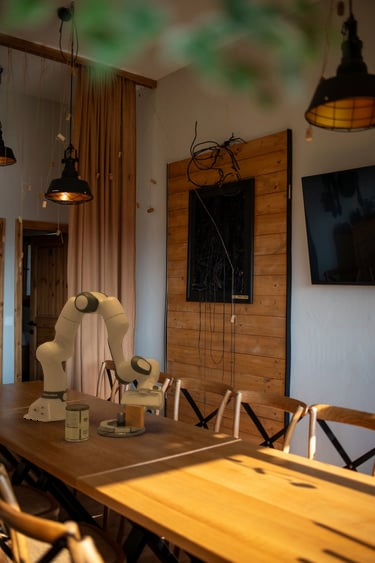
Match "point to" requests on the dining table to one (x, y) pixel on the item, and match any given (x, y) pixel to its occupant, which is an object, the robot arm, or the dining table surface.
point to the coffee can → (77, 422)
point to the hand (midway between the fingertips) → (138, 416)
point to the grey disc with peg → (120, 423)
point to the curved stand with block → (132, 419)
